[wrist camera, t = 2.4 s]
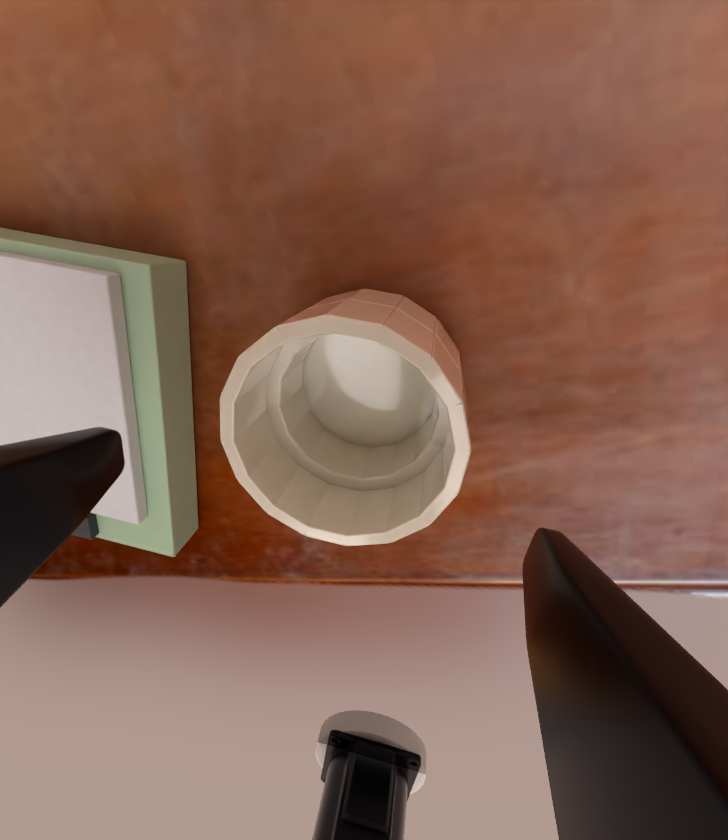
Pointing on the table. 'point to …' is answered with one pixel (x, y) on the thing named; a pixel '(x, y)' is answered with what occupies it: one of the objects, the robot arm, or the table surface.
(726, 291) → the table surface
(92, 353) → the scale
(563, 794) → the robot arm
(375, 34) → the table surface
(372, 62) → the table surface
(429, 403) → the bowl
